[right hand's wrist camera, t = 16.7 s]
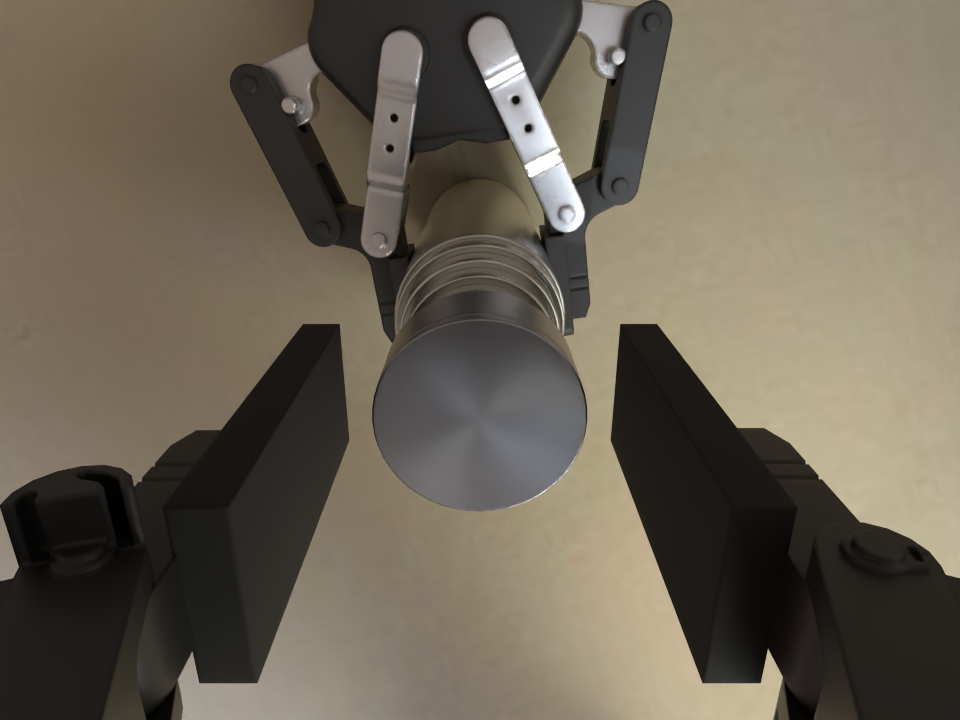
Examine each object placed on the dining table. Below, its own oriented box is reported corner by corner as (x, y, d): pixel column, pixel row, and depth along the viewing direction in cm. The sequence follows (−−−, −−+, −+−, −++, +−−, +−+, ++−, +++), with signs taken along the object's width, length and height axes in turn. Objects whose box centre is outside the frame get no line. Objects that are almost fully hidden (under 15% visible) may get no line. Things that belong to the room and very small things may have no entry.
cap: (613, 380, 14) (631, 420, 12) (480, 495, 15) (480, 546, 14) (478, 249, 13) (478, 272, 11) (346, 381, 14) (327, 422, 13)
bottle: (434, 289, 30) (381, 520, 14) (420, 185, 29) (339, 307, 12) (536, 278, 30) (604, 499, 14) (527, 172, 28) (594, 280, 12)
